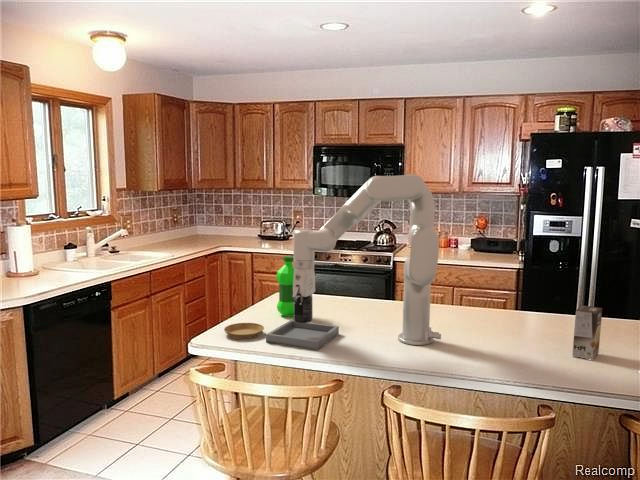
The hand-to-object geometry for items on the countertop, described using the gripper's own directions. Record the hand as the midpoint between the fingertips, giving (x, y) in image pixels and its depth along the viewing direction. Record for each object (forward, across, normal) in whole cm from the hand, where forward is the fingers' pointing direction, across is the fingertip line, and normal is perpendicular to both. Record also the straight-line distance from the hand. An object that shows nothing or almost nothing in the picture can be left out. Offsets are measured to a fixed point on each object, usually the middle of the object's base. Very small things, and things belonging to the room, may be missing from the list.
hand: (303, 312), depth 191 cm
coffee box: (+9, +23, -94) cm, 97 cm away
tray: (+10, 0, 0) cm, 10 cm away
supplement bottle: (+3, 0, 0) cm, 3 cm away
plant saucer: (+10, -5, +22) cm, 25 cm away
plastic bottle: (+10, +26, +19) cm, 34 cm away
